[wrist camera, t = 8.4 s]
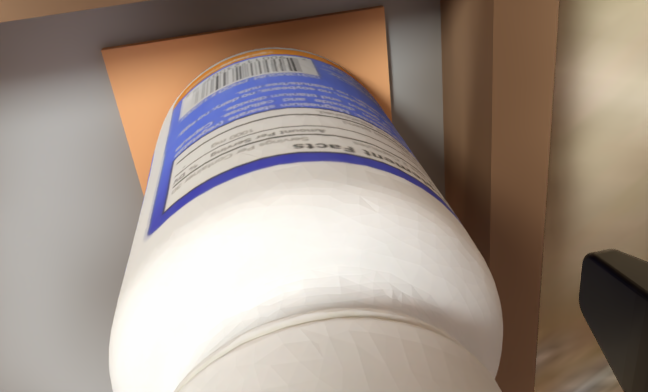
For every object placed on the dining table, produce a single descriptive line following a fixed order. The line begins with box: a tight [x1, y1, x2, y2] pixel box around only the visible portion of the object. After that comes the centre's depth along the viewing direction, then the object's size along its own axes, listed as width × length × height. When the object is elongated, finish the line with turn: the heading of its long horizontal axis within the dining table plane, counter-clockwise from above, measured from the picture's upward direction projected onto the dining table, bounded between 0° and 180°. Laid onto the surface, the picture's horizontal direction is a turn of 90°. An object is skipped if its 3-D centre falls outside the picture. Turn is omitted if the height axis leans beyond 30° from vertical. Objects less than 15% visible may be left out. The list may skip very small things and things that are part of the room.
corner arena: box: [0, 0, 559, 392], centre depth 14 cm, size 14×14×4 cm
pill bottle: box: [109, 47, 503, 392], centre depth 10 cm, size 5×5×10 cm
